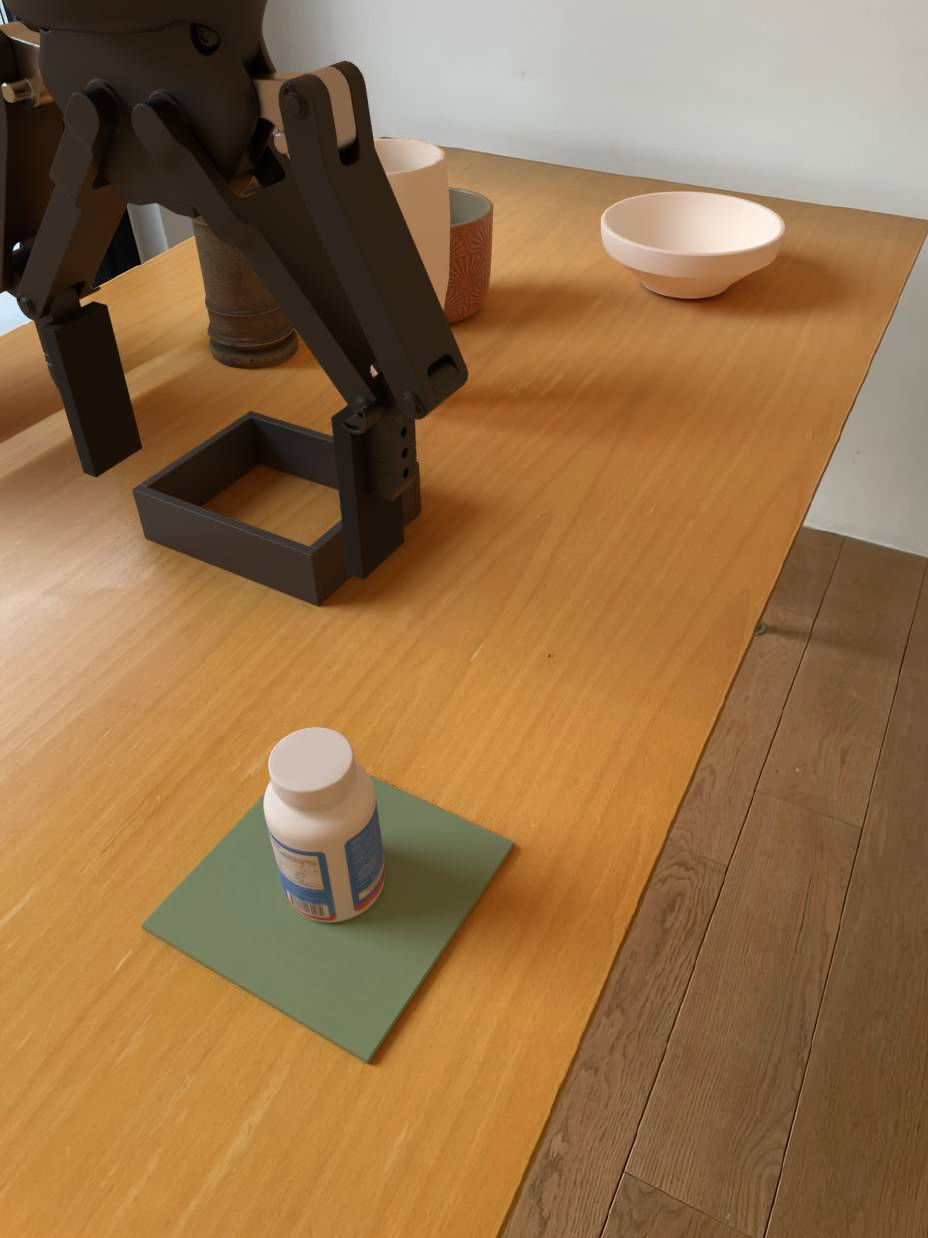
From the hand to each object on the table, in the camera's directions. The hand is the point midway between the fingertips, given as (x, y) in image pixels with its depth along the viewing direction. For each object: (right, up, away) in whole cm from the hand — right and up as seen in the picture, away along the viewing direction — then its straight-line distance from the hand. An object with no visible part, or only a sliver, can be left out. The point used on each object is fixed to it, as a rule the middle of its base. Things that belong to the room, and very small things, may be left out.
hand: (236, 506), depth 41 cm
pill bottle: (+2, -19, +13) cm, 22 cm away
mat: (+2, -19, +13) cm, 23 cm away
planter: (+6, +29, +69) cm, 75 cm away
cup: (+3, +15, +53) cm, 55 cm away
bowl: (+34, +33, +73) cm, 87 cm away
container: (-12, +23, +62) cm, 67 cm away
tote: (-5, +3, +38) cm, 38 cm away
